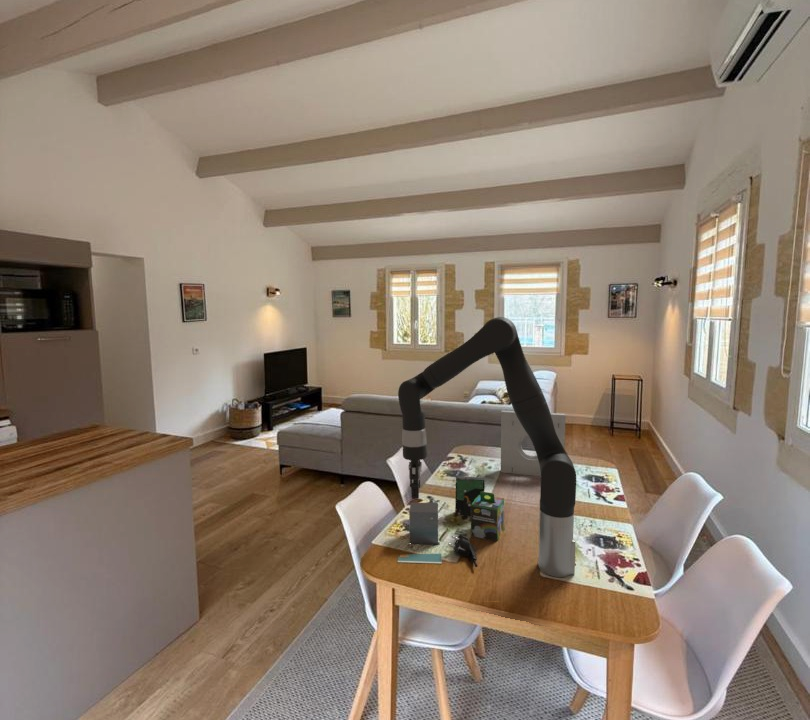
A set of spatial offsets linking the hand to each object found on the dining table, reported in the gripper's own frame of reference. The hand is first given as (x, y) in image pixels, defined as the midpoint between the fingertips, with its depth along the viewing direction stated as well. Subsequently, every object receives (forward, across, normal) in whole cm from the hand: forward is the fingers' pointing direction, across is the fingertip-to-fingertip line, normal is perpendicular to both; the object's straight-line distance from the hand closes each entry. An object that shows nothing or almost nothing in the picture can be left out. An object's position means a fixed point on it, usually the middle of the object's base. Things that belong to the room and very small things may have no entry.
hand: (416, 492), depth 138 cm
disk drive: (+18, +20, -18) cm, 32 cm away
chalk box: (+18, +8, -23) cm, 30 cm away
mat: (+17, -6, -1) cm, 18 cm away
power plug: (+15, -14, -15) cm, 25 cm away
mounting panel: (+18, +59, -47) cm, 78 cm away
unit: (+17, +3, -2) cm, 18 cm away
